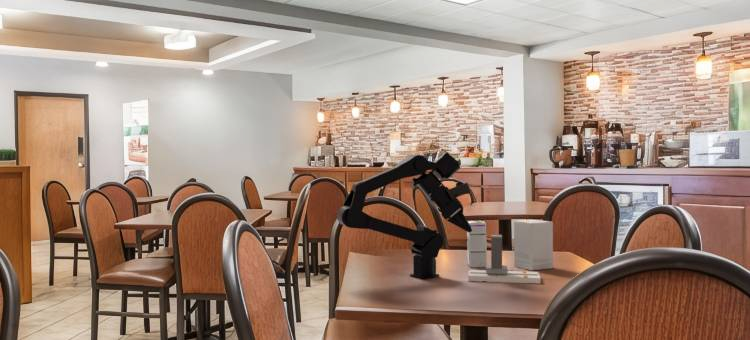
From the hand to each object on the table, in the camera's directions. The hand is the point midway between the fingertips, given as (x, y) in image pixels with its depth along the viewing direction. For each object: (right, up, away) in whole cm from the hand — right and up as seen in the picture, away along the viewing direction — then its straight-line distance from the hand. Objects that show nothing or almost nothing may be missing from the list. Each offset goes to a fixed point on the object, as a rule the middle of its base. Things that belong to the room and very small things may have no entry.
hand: (470, 230), depth 174 cm
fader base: (+8, -14, -2) cm, 16 cm away
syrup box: (+5, -14, +18) cm, 24 cm away
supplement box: (+23, -14, +16) cm, 31 cm away
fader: (+7, -12, -2) cm, 14 cm away
